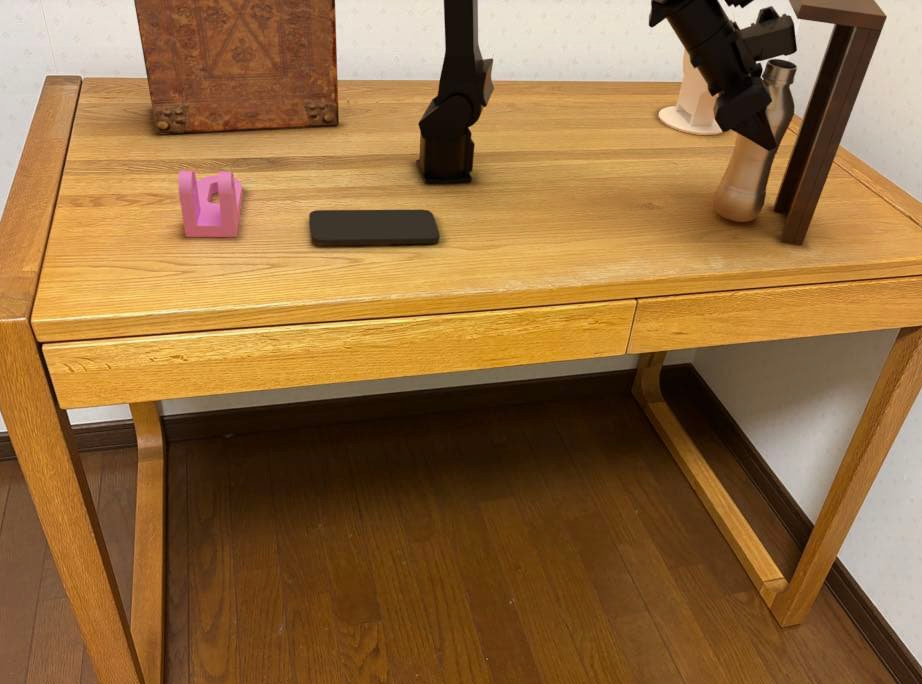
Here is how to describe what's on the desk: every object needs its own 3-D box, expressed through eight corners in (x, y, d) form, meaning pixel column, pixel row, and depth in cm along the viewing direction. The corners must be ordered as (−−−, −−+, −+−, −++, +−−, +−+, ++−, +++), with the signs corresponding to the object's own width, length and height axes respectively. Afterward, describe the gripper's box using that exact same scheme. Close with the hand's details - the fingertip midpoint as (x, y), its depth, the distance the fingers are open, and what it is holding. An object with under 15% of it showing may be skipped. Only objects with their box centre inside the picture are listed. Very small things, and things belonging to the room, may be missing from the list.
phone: (441, 238, 100) (311, 240, 96) (440, 244, 100) (312, 246, 97) (431, 209, 105) (308, 209, 102) (431, 215, 106) (308, 215, 102)
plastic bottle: (760, 212, 115) (811, 62, 102) (755, 233, 110) (808, 78, 97) (713, 200, 116) (758, 50, 103) (706, 220, 111) (752, 65, 98)
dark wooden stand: (730, 234, 109) (801, 4, 92) (725, 200, 117) (790, -18, 99) (802, 245, 109) (887, 16, 91) (792, 210, 117) (869, -7, 99)
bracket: (236, 237, 97) (229, 180, 93) (185, 236, 96) (176, 179, 92) (244, 186, 107) (238, 133, 103) (198, 185, 106) (190, 131, 102)
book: (326, 102, 131) (318, -123, 111) (339, 126, 124) (333, -109, 105) (151, 109, 122) (111, -133, 103) (155, 135, 116) (114, -118, 97)
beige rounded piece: (740, 136, 136) (769, 39, 126) (676, 137, 133) (700, 38, 124) (708, 107, 145) (733, 15, 135) (648, 107, 142) (668, 13, 132)
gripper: (779, 10, 88) (845, 129, 95) (762, -31, 103) (820, 75, 109) (685, 74, 94) (754, 183, 100) (681, 27, 108) (741, 125, 115)
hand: (770, 138), depth 106 cm, fingers closed on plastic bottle, 6 cm apart
